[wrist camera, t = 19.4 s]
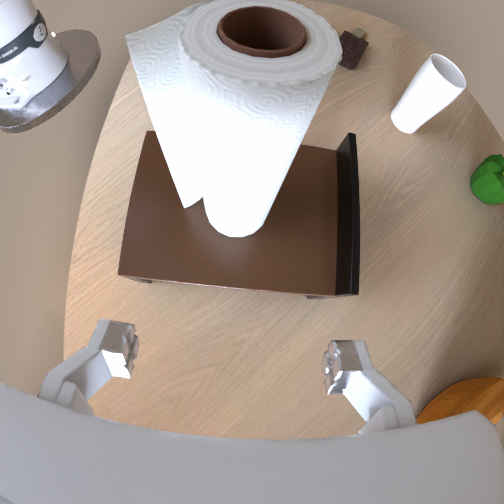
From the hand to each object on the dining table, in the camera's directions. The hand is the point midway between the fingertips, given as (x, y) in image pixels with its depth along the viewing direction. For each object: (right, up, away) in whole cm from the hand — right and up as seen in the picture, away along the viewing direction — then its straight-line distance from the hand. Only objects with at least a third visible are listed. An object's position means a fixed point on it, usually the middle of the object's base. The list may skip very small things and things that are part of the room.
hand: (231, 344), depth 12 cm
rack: (-1, +7, +25) cm, 26 cm away
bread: (+32, -23, +23) cm, 46 cm away
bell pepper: (+43, +15, +31) cm, 55 cm away
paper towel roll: (-1, +8, +18) cm, 20 cm away
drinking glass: (+26, +26, +31) cm, 48 cm away
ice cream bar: (+20, +43, +34) cm, 58 cm away
